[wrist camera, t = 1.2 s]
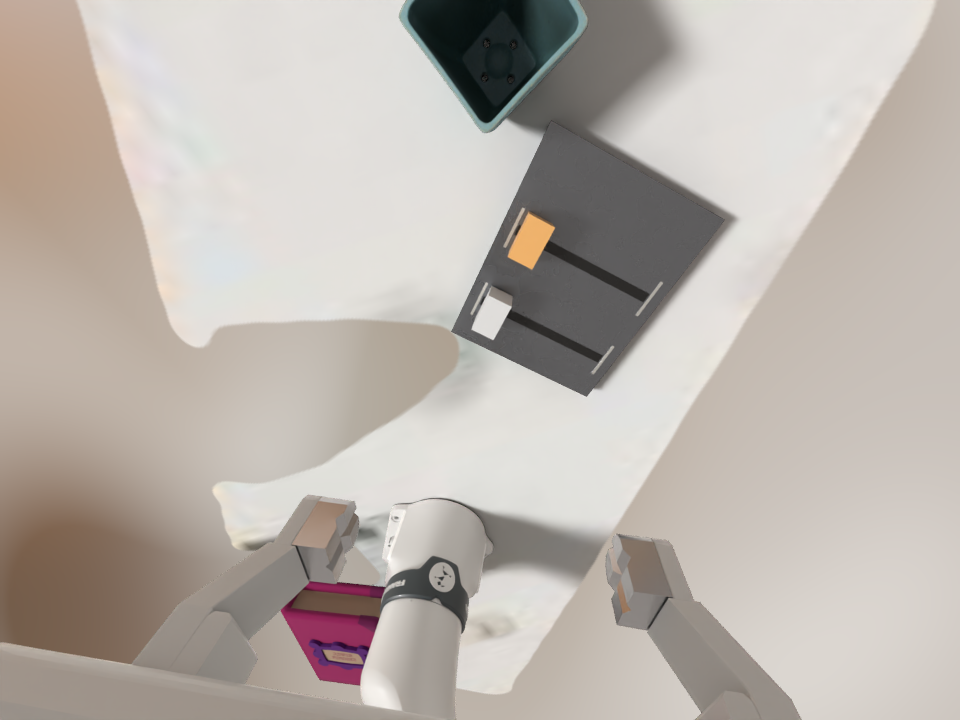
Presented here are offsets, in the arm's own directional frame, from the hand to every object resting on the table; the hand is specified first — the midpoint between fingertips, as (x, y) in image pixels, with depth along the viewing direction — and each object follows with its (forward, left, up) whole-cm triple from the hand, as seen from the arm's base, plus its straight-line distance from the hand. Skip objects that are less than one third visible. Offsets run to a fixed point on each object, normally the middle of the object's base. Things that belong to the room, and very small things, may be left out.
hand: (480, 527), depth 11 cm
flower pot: (+16, +10, -31) cm, 36 cm away
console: (+3, -5, -31) cm, 31 cm away
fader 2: (+5, +1, -28) cm, 29 cm away
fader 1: (-3, +1, -28) cm, 28 cm away
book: (-84, -5, -31) cm, 89 cm away
